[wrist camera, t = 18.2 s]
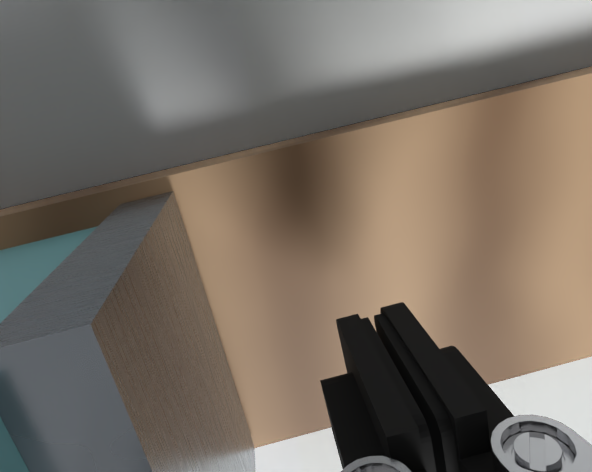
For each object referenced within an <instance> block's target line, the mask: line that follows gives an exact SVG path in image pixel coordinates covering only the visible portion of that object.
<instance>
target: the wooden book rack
mask: <svg viewBox="0 0 592 472" xmlns="http://www.w3.org/2000/svg"><path fill="white" fill-rule="evenodd" d="M171 191H173V192H174V195H175V198H176V201H177V204H178V207H179V211H180V214H181V217H182V220H183V223H184V226H185V229H186V233H187V236H188V239H189V242H190V245H191V248H192V251H193V255H194V258H195V261H196V264H197V267H198V270H199V273H200V277H201V280H202V283H203V286H204V289H205V292H206V295H207V299H208V302H209V305H210V308H211V311H212V314H213V317H214V321H215V324H216V327H217V330H218V333H219V336H220V339H221V343H222V346H223V349H224V352H225V355H226V358H227V361H228V365H229V368H230V371H231V374H232V377H233V380H234V383H235V387H236V390H237V393H238V396H239V399H240V402H241V405H242V409H243V412H244V415H245V418H246V421H247V424H248V427H249V431H250V434H251V437H252V440H253V443H254V448H257V447H260V446H264V445H268V444H271V443H275V442H279V441H282V440H286V439H290V438H293V437H297V436H301V435H304V434H308V433H312V432H315V431H319V430H323V429H326V428H330V427H331V423H330V419H329V415H328V411H327V407H326V403H325V399H324V395H323V391H322V386H321V382H320V380H324V379H328V378H331V377H335V376H339V375H343V374H346V373H347V370H346V365H345V361H344V356H343V351H342V347H341V342H340V338H339V333H338V329H337V324H336V319H339V318H343V317H347V316H350V315H354V314H358V315H359V316H360V318H361V319H363V318H366V317H368V318H369V320H370V321H371V323H372V325H373V327H374V329H375V330H376V327H375V322H374V315H378V314H381V313H380V309H381V307H385V306H389V305H393V304H396V303H400V302H404V303H405V305H406V306H407V307H408V309H409V310H410V311H411V312H412V314H413V315H414V316H415V318H416V319H417V320H418V322H419V323H420V324H421V325H422V327H423V328H424V329H425V331H426V332H427V333H428V335H429V336H430V337H431V338H432V340H433V341H434V342H435V344H436V345H437V346H438V348H439V349H441V348H444V347H448V346H455V347H456V348H457V349H458V350H459V351H460V352H461V353H462V355H463V356H464V357H465V358H466V359H467V361H468V362H469V363H470V364H471V365H472V367H473V368H474V369H475V370H476V371H477V373H478V374H479V375H480V376H481V377H482V379H483V380H484V381H485V382H486V383H487V385H488V384H492V383H495V382H499V381H503V380H506V379H510V378H514V377H517V376H521V375H525V374H528V373H532V372H536V371H539V370H543V369H547V368H550V367H554V366H558V365H561V364H565V363H569V362H572V361H576V360H580V359H583V358H587V357H591V356H592V66H591V67H587V68H583V69H579V70H575V71H571V72H567V73H562V74H558V75H554V76H550V77H546V78H542V79H538V80H533V81H529V82H525V83H521V84H517V85H513V86H509V87H505V88H500V89H496V90H492V91H488V92H484V93H480V94H476V95H471V96H467V97H463V98H459V99H455V100H451V101H447V102H442V103H438V104H434V105H430V106H426V107H422V108H418V109H414V110H409V111H405V112H401V113H397V114H393V115H389V116H385V117H380V118H376V119H372V120H368V121H364V122H360V123H356V124H352V125H347V126H343V127H339V128H335V129H331V130H327V131H323V132H318V133H314V134H310V135H306V136H302V137H298V138H294V139H290V140H285V141H281V142H277V143H273V144H269V145H265V146H261V147H256V148H252V149H248V150H244V151H240V152H236V153H232V154H227V155H223V156H219V157H215V158H211V159H207V160H203V161H199V162H194V163H190V164H186V165H182V166H178V167H174V168H170V169H165V170H161V171H157V172H153V173H149V174H145V175H141V176H137V177H132V178H128V179H124V180H120V181H116V182H112V183H108V184H103V185H99V186H95V187H91V188H87V189H83V190H79V191H75V192H70V193H66V194H62V195H58V196H54V197H50V198H46V199H41V200H37V201H33V202H29V203H25V204H21V205H17V206H12V207H8V208H4V209H0V250H3V249H7V248H11V247H15V246H19V245H23V244H27V243H32V242H36V241H40V240H44V239H48V238H52V237H56V236H60V235H64V234H68V233H72V232H76V231H80V230H84V229H88V228H93V227H97V226H99V225H100V224H101V223H102V222H103V221H104V220H105V219H106V218H107V217H108V216H109V215H110V214H111V213H112V212H113V211H114V210H115V209H116V208H117V207H118V206H119V205H120V204H122V203H126V202H130V201H134V200H138V199H142V198H146V197H151V196H155V195H159V194H163V193H167V192H171Z"/></svg>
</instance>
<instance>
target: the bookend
mask: <svg viewBox="0 0 592 472" xmlns="http://www.w3.org/2000/svg"><path fill="white" fill-rule="evenodd" d="M0 418H1V419H2V421H3V423H4V425H5V427H6V429H7V431H8V433H9V434H10V436H11V438H12V440H13V442H14V444H15V446H16V447H17V449H18V451H19V453H20V455H21V457H22V459H23V461H24V462H25V464H26V466H27V468H28V470H29V472H255V453H254V443H253V440H252V437H251V434H250V431H249V427H248V424H247V421H246V418H245V415H244V412H243V409H242V405H241V402H240V399H239V396H238V393H237V390H236V387H235V383H234V380H233V377H232V374H231V371H230V368H229V365H228V361H227V358H226V355H225V352H224V349H223V346H222V343H221V339H220V336H219V333H218V330H217V327H216V324H215V321H214V317H213V314H212V311H211V308H210V305H209V302H208V299H207V295H206V292H205V289H204V286H203V283H202V280H201V277H200V273H199V270H198V267H197V264H196V261H195V258H194V255H193V251H192V248H191V245H190V242H189V239H188V236H187V233H186V229H185V226H184V223H183V220H182V217H181V214H180V211H179V207H178V204H177V201H176V198H175V195H174V192H173V191H171V192H167V193H163V194H159V195H155V196H151V197H146V198H142V199H138V200H134V201H130V202H126V203H122V204H120V205H119V206H118V207H117V208H116V209H115V210H114V211H113V212H112V213H111V214H110V215H109V216H108V217H107V218H106V219H105V220H104V221H103V222H102V223H101V224H100V225H99V226H98V227H97V228H96V229H95V230H94V231H93V232H92V233H91V234H90V235H89V236H88V237H87V238H86V239H85V240H84V241H83V242H82V243H81V244H80V245H79V246H78V247H77V248H75V249H74V250H73V251H72V252H71V253H70V254H69V255H68V256H67V257H66V258H65V259H64V260H63V261H62V262H61V263H60V264H59V265H58V266H57V267H56V268H55V269H54V270H53V271H52V272H51V273H50V274H49V275H48V276H47V277H46V278H45V279H44V280H43V281H42V282H41V283H40V284H39V285H38V286H37V287H36V288H35V289H34V290H33V291H32V292H31V293H30V294H29V295H28V296H27V297H26V298H25V299H24V300H23V301H22V302H21V303H20V304H19V305H18V306H17V307H16V308H15V309H14V310H13V311H12V312H11V313H10V314H9V315H8V316H7V317H6V318H5V319H4V320H3V321H2V322H1V323H0Z"/></svg>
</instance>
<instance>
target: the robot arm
mask: <svg viewBox="0 0 592 472" xmlns="http://www.w3.org/2000/svg"><path fill="white" fill-rule="evenodd" d="M380 313H381V314H378V315H374V322H375V327H376V330H375V329H374V327H373V325H372V323H371V321H370V320H369V318H368V317H366V318H363V319H361V318H360V316H359V315H358V314H354V315H350V316H347V317H343V318H339V319H336V324H337V329H338V333H339V338H340V342H341V347H342V351H343V356H344V361H345V365H346V370H347V373H346V374H343V375H339V376H335V377H331V378H328V379H324V380H320V382H321V386H322V391H323V395H324V399H325V403H326V407H327V411H328V415H329V419H330V423H331V427H332V431H333V434H334V438H335V442H336V446H337V449H338V453H339V457H340V460H341V464H342V468H343V470H342V471H341V472H592V445H591V444H590V443H588V442H587V441H586V440H585V439H583V438H582V437H581V436H580V435H578V434H577V433H576V432H575V431H574V430H572V429H571V428H569V427H567V426H566V425H564V424H563V423H561V422H559V421H556V420H553V419H551V418H548V417H543V416H538V415H518V416H513V414H512V413H511V412H510V411H509V410H508V408H507V407H506V406H505V405H504V404H503V402H502V401H501V400H500V399H499V398H498V396H497V395H496V394H495V393H494V392H493V391H492V389H491V388H490V387H489V386H488V385H487V383H486V382H485V381H484V380H483V379H482V377H481V376H480V375H479V374H478V373H477V371H476V370H475V369H474V368H473V367H472V365H471V364H470V363H469V362H468V361H467V359H466V358H465V357H464V356H463V355H462V353H461V352H460V351H459V350H458V349H457V348H456V347H455V346H448V347H444V348H441V349H439V348H438V346H437V345H436V344H435V342H434V341H433V340H432V338H431V337H430V336H429V335H428V333H427V332H426V331H425V329H424V328H423V327H422V325H421V324H420V323H419V322H418V320H417V319H416V318H415V316H414V315H413V314H412V312H411V311H410V310H409V309H408V307H407V306H406V305H405V303H404V302H400V303H396V304H393V305H389V306H385V307H381V309H380Z"/></svg>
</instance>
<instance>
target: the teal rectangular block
mask: <svg viewBox="0 0 592 472" xmlns="http://www.w3.org/2000/svg"><path fill="white" fill-rule="evenodd" d="M97 227H98V226H97ZM97 227H93V228H88V229H84V230H80V231H76V232H72V233H68V234H64V235H60V236H56V237H52V238H48V239H44V240H40V241H36V242H32V243H27V244H23V245H19V246H15V247H11V248H7V249H3V250H0V323H1V322H2V321H3V320H4V319H5V318H6V317H7V316H8V315H9V314H10V313H11V312H12V311H13V310H14V309H15V308H16V307H17V306H18V305H19V304H20V303H21V302H22V301H23V300H24V299H25V298H26V297H27V296H28V295H29V294H30V293H31V292H32V291H33V290H34V289H35V288H36V287H37V286H38V285H39V284H40V283H41V282H42V281H43V280H44V279H45V278H46V277H47V276H48V275H49V274H50V273H51V272H52V271H53V270H54V269H55V268H56V267H57V266H58V265H59V264H60V263H61V262H62V261H63V260H64V259H65V258H66V257H67V256H68V255H69V254H70V253H71V252H72V251H73V250H74V249H75V248H77V247H78V246H79V245H80V244H81V243H82V242H83V241H84V240H85V239H86V238H87V237H88V236H89V235H90V234H91V233H92V232H93V231H94V230H95V229H96V228H97ZM0 472H29V470H28V468H27V466H26V464H25V462H24V461H23V459H22V457H21V455H20V453H19V451H18V449H17V447H16V446H15V444H14V442H13V440H12V438H11V436H10V434H9V433H8V431H7V429H6V427H5V425H4V423H3V421H2V419H1V418H0Z"/></svg>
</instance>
